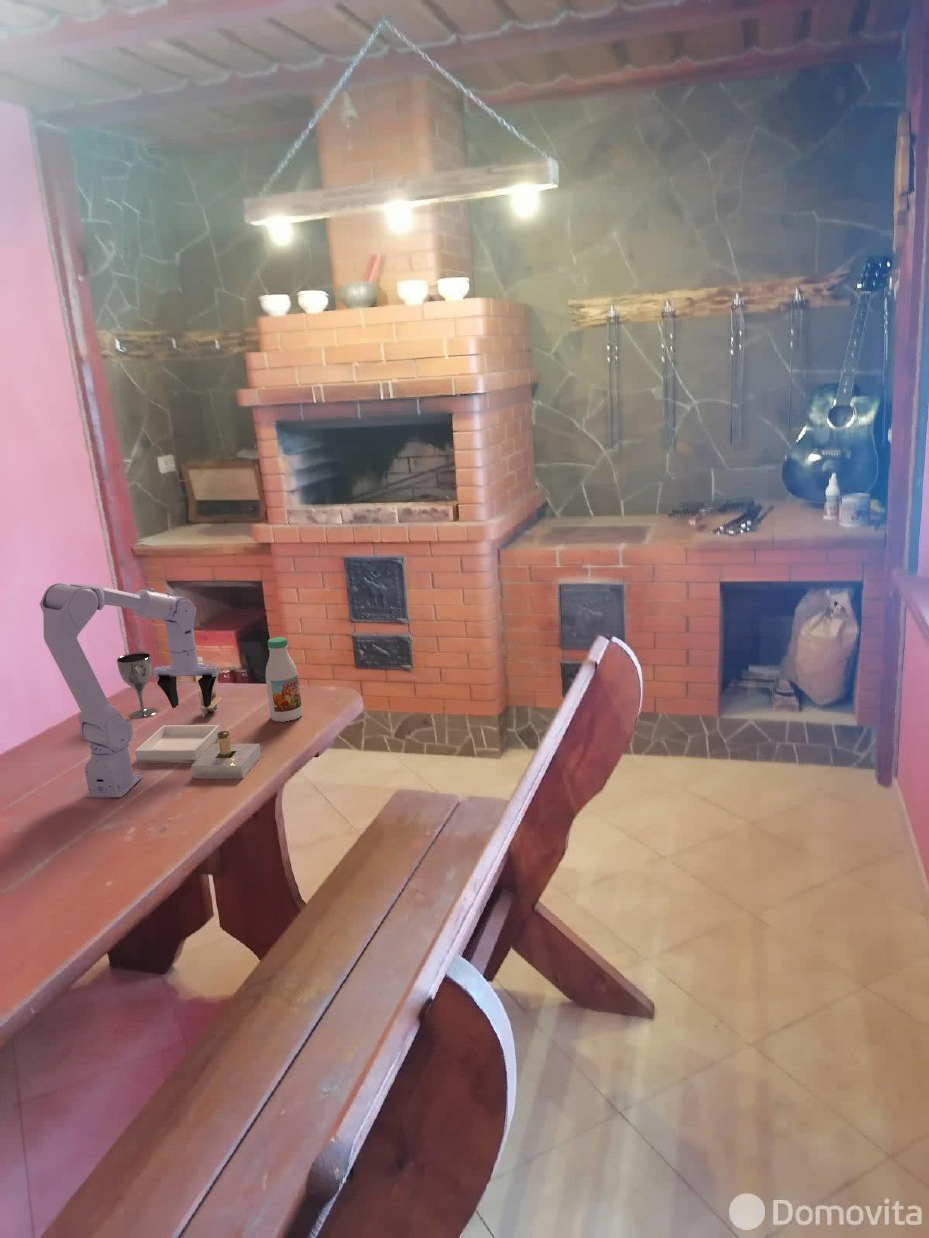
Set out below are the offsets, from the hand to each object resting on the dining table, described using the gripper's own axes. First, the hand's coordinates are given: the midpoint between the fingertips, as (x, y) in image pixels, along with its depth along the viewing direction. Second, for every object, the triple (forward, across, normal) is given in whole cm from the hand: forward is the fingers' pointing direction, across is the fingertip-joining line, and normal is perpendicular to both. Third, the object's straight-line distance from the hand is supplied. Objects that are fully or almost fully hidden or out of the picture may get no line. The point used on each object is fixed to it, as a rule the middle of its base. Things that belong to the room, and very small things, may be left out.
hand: (191, 706), depth 203 cm
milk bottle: (+10, -16, -18) cm, 26 cm away
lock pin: (+10, -11, +10) cm, 18 cm away
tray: (+10, +4, +1) cm, 11 cm away
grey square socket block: (+10, -11, +10) cm, 18 cm away
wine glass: (+10, +23, -21) cm, 33 cm away
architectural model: (+11, +5, -21) cm, 24 cm away
